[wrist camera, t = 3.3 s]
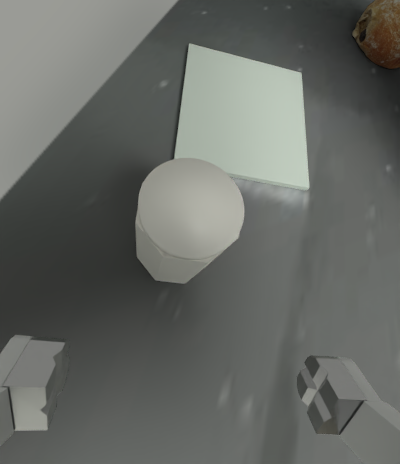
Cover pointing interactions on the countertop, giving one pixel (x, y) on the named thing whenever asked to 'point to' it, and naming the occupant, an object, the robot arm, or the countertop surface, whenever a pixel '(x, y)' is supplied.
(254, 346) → the countertop surface
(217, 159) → the mat
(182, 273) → the domed hexagonal post
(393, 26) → the bread roll
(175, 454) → the countertop surface
